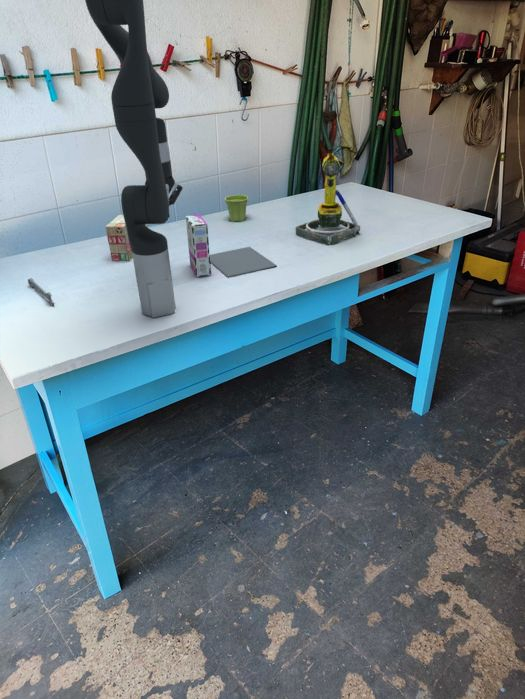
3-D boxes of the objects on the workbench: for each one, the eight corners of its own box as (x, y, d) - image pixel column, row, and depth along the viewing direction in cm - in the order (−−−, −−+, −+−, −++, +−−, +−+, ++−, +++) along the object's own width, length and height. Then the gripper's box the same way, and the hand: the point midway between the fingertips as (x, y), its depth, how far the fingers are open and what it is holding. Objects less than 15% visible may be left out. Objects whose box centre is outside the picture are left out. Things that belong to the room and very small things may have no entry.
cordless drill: (290, 235, 192) (290, 156, 177) (325, 223, 202) (327, 148, 188) (329, 247, 180) (332, 164, 165) (363, 234, 191) (369, 154, 176)
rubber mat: (276, 266, 166) (276, 265, 166) (227, 277, 160) (227, 276, 160) (249, 248, 182) (249, 246, 182) (204, 257, 175) (203, 255, 175)
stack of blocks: (133, 239, 193) (128, 206, 187) (149, 240, 192) (144, 206, 186) (111, 261, 175) (104, 225, 169) (129, 262, 174) (123, 225, 168)
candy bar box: (212, 275, 162) (207, 224, 153) (196, 278, 161) (191, 226, 152) (204, 263, 171) (200, 213, 163) (189, 265, 170) (184, 215, 161)
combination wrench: (26, 276, 158) (48, 296, 144) (30, 275, 159) (52, 294, 145) (29, 287, 160) (51, 308, 146) (33, 286, 161) (56, 307, 147)
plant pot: (221, 219, 211) (219, 198, 206) (239, 214, 216) (237, 193, 211) (236, 224, 204) (234, 202, 200) (254, 219, 210) (253, 197, 205)
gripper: (137, 164, 141) (146, 227, 150) (183, 158, 146) (190, 219, 155) (130, 159, 146) (139, 220, 156) (175, 153, 151) (181, 212, 161)
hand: (164, 219), depth 155 cm, fingers closed
